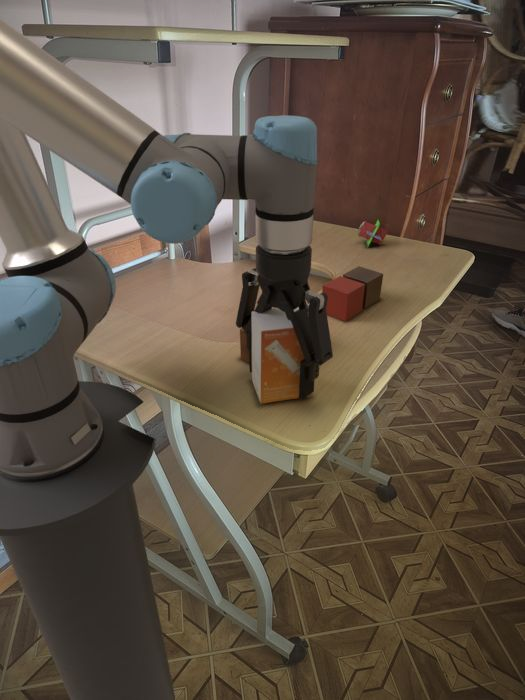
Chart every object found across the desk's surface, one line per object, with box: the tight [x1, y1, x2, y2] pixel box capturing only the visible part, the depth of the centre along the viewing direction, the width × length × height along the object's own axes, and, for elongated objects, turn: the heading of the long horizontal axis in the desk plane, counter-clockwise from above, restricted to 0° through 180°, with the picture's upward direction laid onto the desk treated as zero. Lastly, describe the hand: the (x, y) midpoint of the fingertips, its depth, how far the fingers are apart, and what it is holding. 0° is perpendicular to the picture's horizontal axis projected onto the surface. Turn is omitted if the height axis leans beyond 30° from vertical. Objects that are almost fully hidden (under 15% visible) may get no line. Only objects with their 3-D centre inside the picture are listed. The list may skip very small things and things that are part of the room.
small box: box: [251, 307, 313, 405], centre depth 76 cm, size 8×6×13 cm
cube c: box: [321, 275, 365, 322], centre depth 100 cm, size 6×6×6 cm
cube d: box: [342, 265, 384, 310], centre depth 104 cm, size 6×6×6 cm
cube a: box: [239, 327, 249, 364], centre depth 85 cm, size 6×6×6 cm
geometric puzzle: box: [357, 218, 389, 247], centre depth 132 cm, size 7×7×8 cm
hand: (280, 381), depth 78 cm, fingers closed on small box, 9 cm apart
